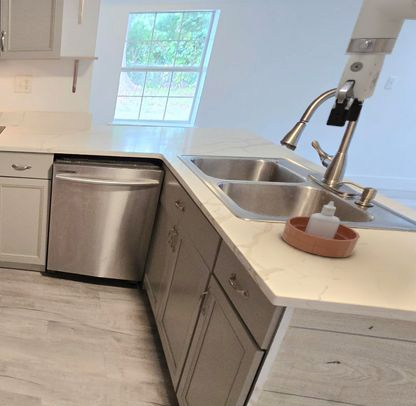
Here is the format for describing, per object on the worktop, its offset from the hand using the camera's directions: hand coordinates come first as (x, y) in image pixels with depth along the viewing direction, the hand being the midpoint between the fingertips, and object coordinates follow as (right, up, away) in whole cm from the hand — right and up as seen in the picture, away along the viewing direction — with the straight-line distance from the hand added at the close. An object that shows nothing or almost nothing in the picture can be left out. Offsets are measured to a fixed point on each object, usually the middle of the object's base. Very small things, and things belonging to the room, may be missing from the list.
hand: (341, 123), depth 89 cm
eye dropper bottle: (+1, -31, +8) cm, 32 cm away
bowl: (+1, -31, +8) cm, 32 cm away
